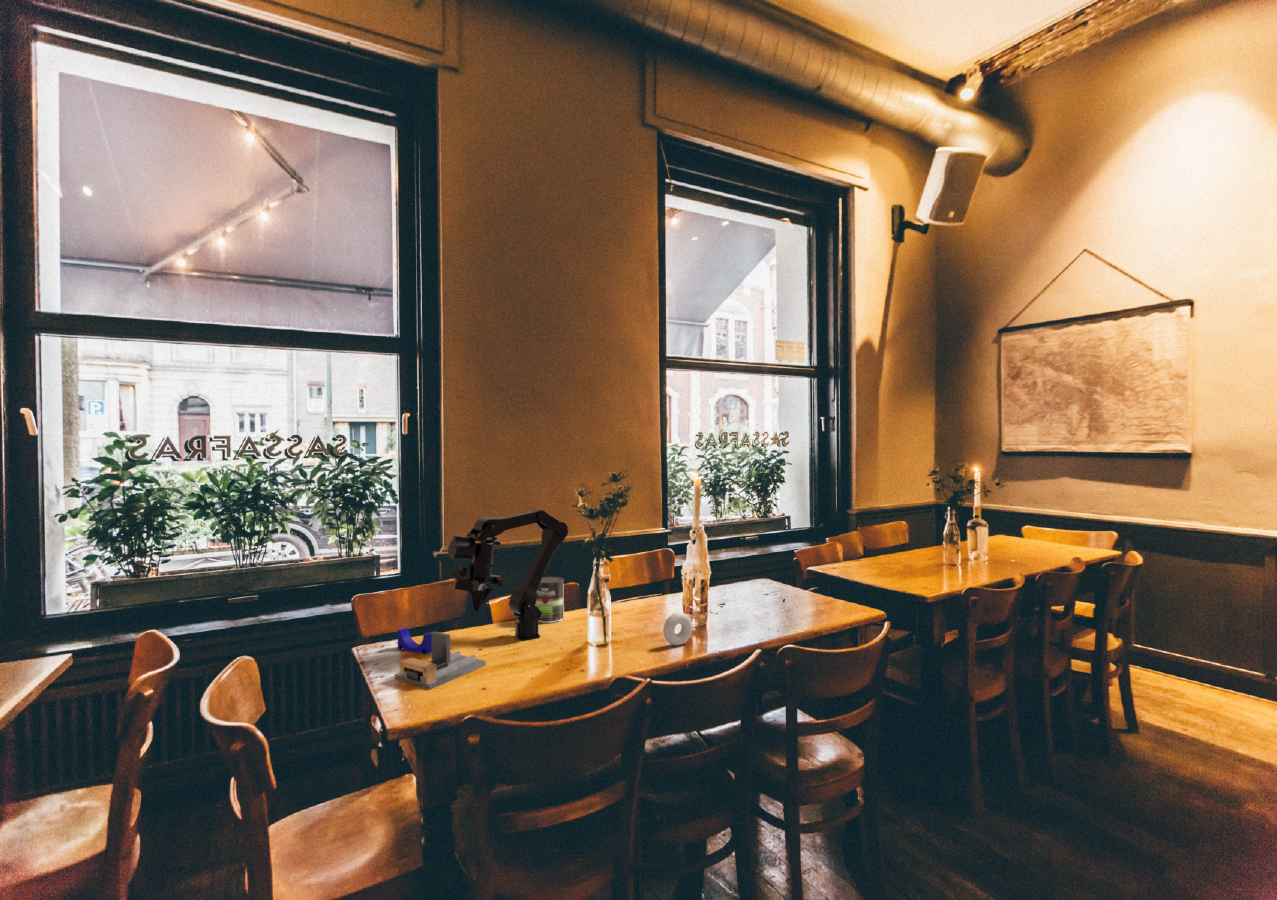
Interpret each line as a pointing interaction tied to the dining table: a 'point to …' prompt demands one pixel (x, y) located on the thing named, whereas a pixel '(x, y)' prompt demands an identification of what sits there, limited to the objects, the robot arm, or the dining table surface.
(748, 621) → the dining table surface
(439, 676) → the rail base
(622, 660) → the dining table surface
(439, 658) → the metal angle bracket
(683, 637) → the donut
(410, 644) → the blue saddle bracket
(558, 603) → the coffee can
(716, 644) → the dining table surface
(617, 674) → the dining table surface
